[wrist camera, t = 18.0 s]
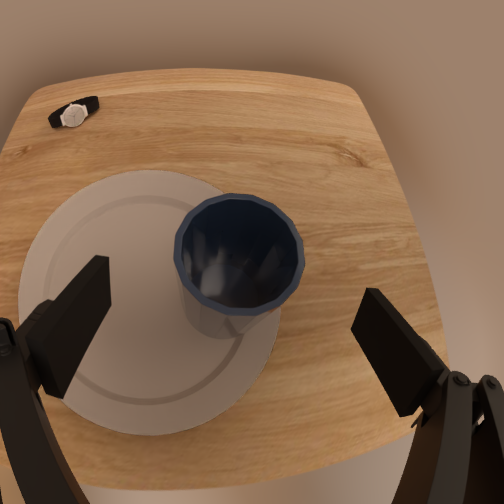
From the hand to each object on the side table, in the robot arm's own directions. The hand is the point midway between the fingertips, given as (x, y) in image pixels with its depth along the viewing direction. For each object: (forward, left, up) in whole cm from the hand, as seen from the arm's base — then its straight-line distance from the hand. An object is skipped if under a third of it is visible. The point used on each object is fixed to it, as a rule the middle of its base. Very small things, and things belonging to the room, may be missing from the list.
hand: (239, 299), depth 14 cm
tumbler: (+3, 0, -11) cm, 11 cm away
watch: (+27, +21, -13) cm, 37 cm away
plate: (+3, +7, -13) cm, 15 cm away
